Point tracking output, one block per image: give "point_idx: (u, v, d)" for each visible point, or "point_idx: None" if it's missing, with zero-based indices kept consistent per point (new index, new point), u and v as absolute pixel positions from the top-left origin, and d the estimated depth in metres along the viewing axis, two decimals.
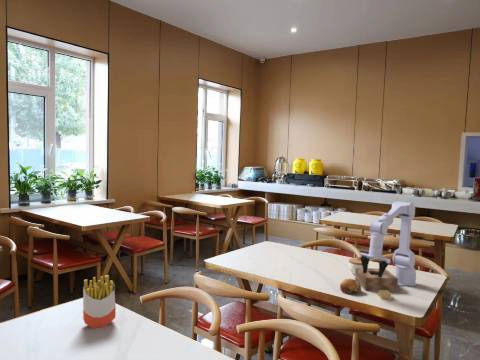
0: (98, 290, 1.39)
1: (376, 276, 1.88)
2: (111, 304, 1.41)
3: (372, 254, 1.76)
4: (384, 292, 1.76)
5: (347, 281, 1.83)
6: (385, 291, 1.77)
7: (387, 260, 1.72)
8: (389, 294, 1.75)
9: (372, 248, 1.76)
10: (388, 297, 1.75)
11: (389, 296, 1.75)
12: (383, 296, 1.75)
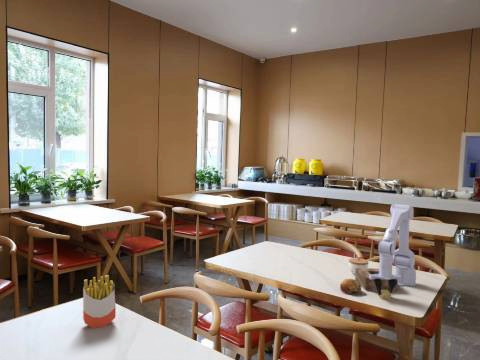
0: (98, 290, 1.39)
1: None
2: (111, 304, 1.41)
3: (387, 276, 1.74)
4: (384, 292, 1.76)
5: (347, 281, 1.83)
6: (385, 291, 1.77)
7: (400, 277, 1.76)
8: (389, 294, 1.75)
9: (387, 270, 1.74)
10: (388, 297, 1.75)
11: (389, 296, 1.75)
12: (383, 296, 1.75)
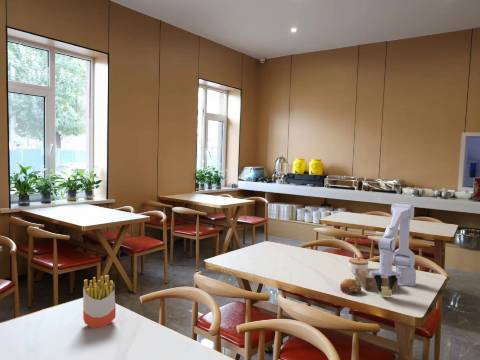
0: (98, 290, 1.39)
1: None
2: (111, 304, 1.41)
3: (388, 272, 1.74)
4: (384, 288, 1.76)
5: (347, 281, 1.83)
6: (385, 288, 1.77)
7: (400, 274, 1.76)
8: (389, 290, 1.75)
9: (387, 266, 1.74)
10: (388, 293, 1.75)
11: (389, 292, 1.75)
12: (383, 292, 1.75)
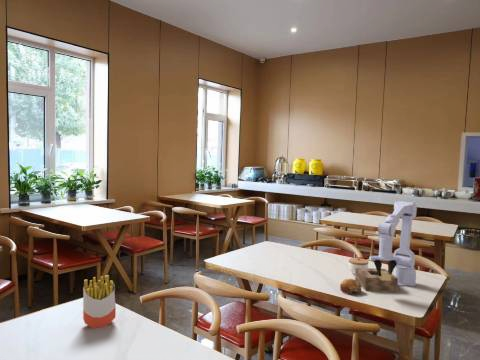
0: (98, 290, 1.39)
1: (376, 276, 1.88)
2: (111, 304, 1.41)
3: (387, 257, 1.75)
4: (384, 273, 1.78)
5: (347, 281, 1.83)
6: (385, 272, 1.78)
7: (400, 259, 1.77)
8: (389, 275, 1.76)
9: (387, 251, 1.75)
10: (388, 278, 1.76)
11: (389, 277, 1.76)
12: (383, 277, 1.76)
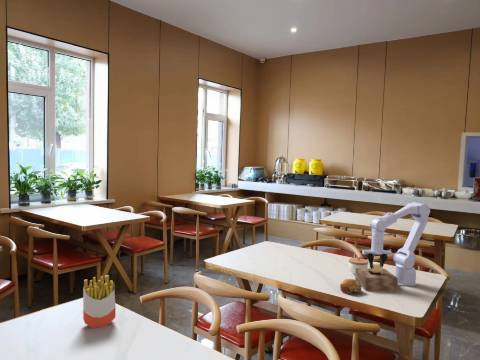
0: (98, 290, 1.39)
1: (376, 276, 1.88)
2: (111, 304, 1.41)
3: (379, 250, 1.91)
4: (376, 266, 1.92)
5: (347, 281, 1.83)
6: (377, 265, 1.93)
7: (390, 252, 1.92)
8: (380, 267, 1.91)
9: (378, 245, 1.90)
10: (380, 270, 1.91)
11: (380, 269, 1.91)
12: (375, 269, 1.91)
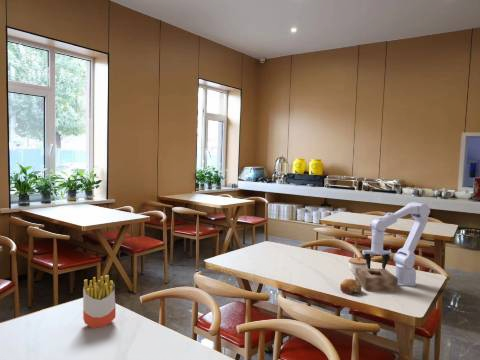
0: (98, 290, 1.39)
1: (376, 276, 1.88)
2: (111, 304, 1.41)
3: (379, 251, 1.91)
4: None
5: (347, 281, 1.83)
6: None
7: (390, 253, 1.92)
8: None
9: (378, 245, 1.90)
10: None
11: None
12: None
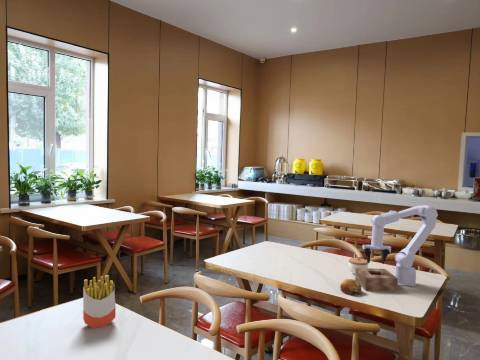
0: (98, 290, 1.39)
1: (376, 276, 1.88)
2: (111, 304, 1.41)
3: (379, 246, 1.95)
4: None
5: (347, 281, 1.82)
6: None
7: (390, 248, 1.97)
8: None
9: (378, 240, 1.95)
10: None
11: None
12: None
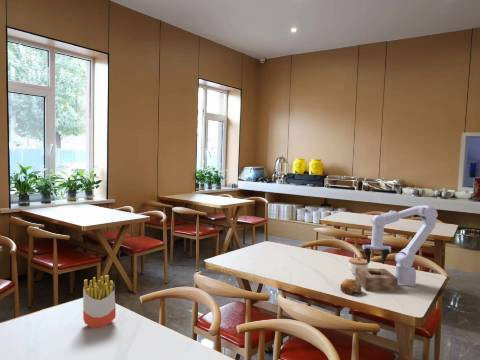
0: (98, 290, 1.39)
1: (376, 276, 1.88)
2: (111, 304, 1.41)
3: (379, 246, 1.95)
4: None
5: (347, 281, 1.82)
6: None
7: (390, 248, 1.97)
8: None
9: (378, 240, 1.95)
10: None
11: None
12: None
